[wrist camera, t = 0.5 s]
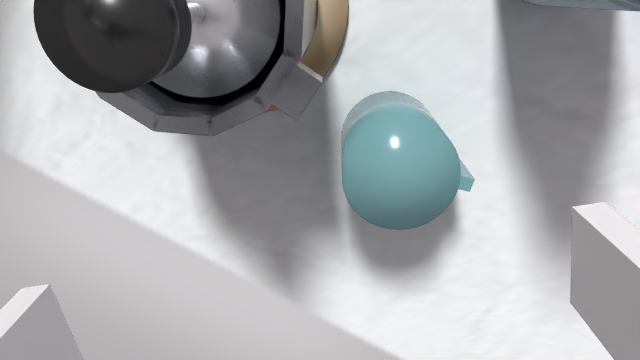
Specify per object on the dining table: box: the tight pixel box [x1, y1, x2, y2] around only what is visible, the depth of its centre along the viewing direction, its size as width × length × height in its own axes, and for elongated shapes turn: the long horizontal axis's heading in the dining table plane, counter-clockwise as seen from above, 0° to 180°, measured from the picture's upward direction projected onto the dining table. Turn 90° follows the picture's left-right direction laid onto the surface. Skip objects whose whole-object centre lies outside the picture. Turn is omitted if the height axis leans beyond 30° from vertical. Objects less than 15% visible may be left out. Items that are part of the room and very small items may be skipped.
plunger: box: [34, 0, 281, 97], centre depth 22 cm, size 9×9×12 cm
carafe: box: [95, 0, 323, 136], centre depth 31 cm, size 17×12×15 cm
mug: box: [341, 91, 475, 230], centre depth 38 cm, size 10×8×10 cm
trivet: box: [265, 0, 348, 112], centre depth 38 cm, size 17×17×1 cm
